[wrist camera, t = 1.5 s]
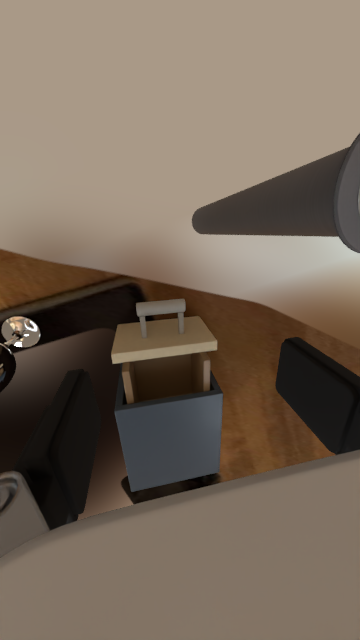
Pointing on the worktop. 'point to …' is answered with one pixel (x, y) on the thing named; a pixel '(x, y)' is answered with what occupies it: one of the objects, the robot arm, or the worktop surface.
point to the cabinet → (170, 436)
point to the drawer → (163, 353)
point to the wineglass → (19, 334)
